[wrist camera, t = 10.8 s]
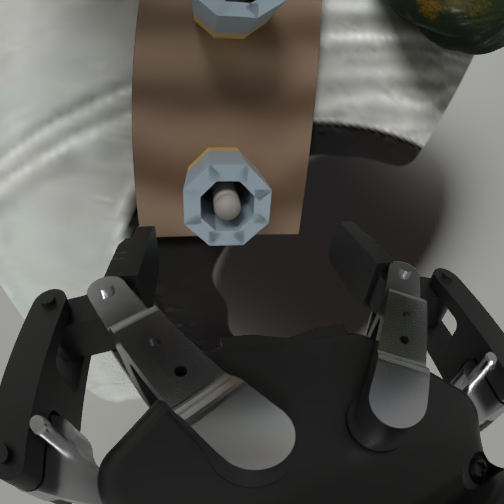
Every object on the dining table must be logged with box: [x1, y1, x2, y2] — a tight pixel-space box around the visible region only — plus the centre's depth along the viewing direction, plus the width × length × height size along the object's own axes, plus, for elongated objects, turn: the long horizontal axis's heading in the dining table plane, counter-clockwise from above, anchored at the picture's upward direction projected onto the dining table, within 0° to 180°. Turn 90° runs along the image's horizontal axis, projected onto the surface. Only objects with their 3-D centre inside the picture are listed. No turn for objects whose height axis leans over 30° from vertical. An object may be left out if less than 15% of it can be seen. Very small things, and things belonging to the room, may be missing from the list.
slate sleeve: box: [183, 147, 272, 246], centre depth 19 cm, size 5×5×6 cm
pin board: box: [132, 0, 321, 237], centre depth 16 cm, size 24×14×9 cm, turn 176°
